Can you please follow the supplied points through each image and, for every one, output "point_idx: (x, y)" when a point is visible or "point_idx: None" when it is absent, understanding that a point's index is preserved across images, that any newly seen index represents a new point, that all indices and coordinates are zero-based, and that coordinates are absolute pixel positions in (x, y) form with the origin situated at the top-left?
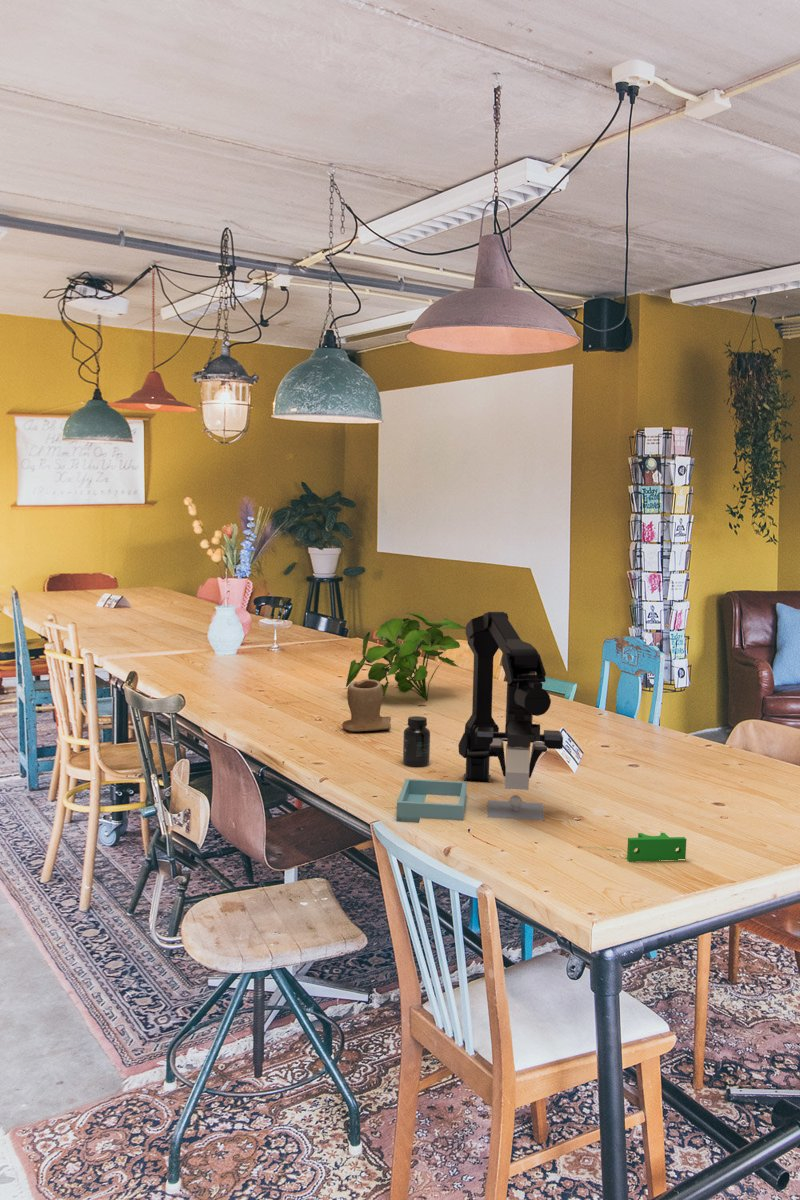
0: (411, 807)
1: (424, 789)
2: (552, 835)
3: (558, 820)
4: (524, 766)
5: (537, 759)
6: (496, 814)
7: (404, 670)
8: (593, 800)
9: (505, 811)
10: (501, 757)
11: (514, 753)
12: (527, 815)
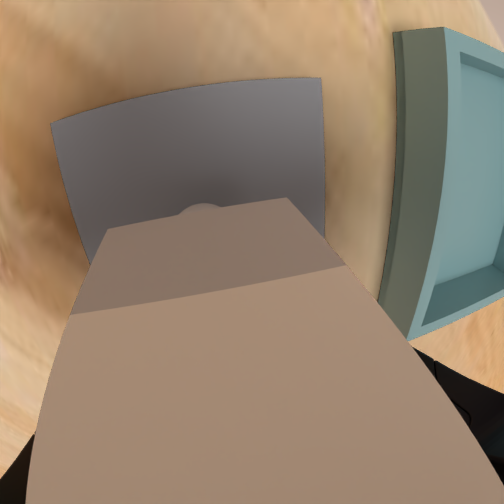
0: None
1: (480, 279)
2: (24, 17)
3: (26, 207)
4: (109, 375)
5: (3, 475)
6: (283, 123)
7: None
8: (38, 400)
9: (244, 181)
10: (459, 404)
11: None
12: (132, 159)
